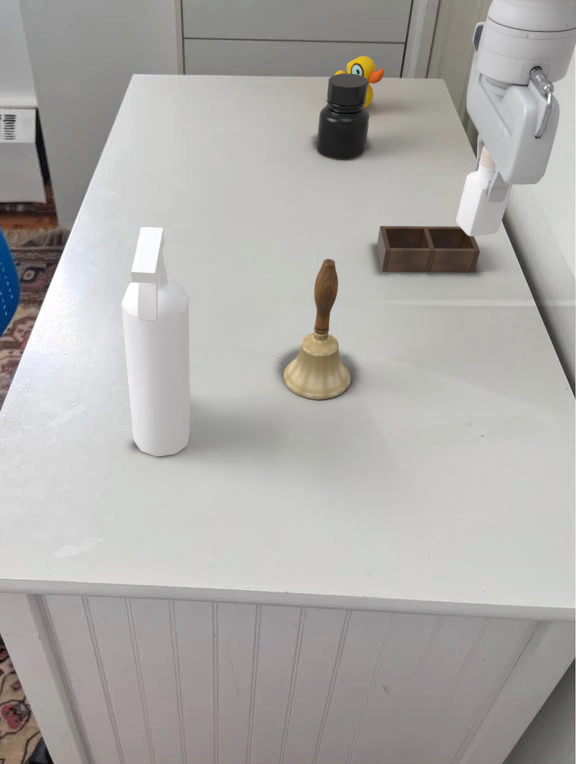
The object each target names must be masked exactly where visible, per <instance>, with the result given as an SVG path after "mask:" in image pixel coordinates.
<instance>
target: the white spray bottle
mask: <svg viewBox="0 0 576 764" xmlns="http://www.w3.org/2000/svg"><path fill="white" fill-rule="evenodd" d="M164 236H165V235H164V227H149V226H140V228H139V233H138V238H137V243H136V248H135V253H134V257H133V262H132V267H131V271H130V274H131V275H130V276H131V282H130V283H129V284H128V286H127V288H126V291H125V294H124V297H123V298H122V301H121V315H122V328H123V336H124V337H123V338H124V348H125V349H124V350H125V359H126V360H125V361H126V371H127V382H128V393H129V405H130V415H131V427H132V437H133V441H134V444H135V445H136V446H137V447H138V449H139V450H140V451H141V452H142V453H146V454H147V455H151V456H153V457H165V456H173V455H176V454H178V453H179V452H181V451H182V450H183V449H185V448H186V447H188V446H189V440H190V437H191V390H190V388H191V385H190V384H191V383H190V382H191V381H190V380H191V379H190V314H189V313H190V309H189V307H190V306H189V304H190V303H189V302H190V301H189V296H188V294H187V293H186V291H185V289H184V287H183V286H182V285H181V284H180V283H179V282H178V281H177V280H176V279H175V278H171V277H168V275H167V270H166V265H165V260H164V256H163V251H164V246H165V237H164Z"/></svg>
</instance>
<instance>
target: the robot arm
mask: <svg viewBox="0 0 576 764" xmlns="http://www.w3.org/2000/svg"><path fill="white" fill-rule="evenodd" d="M471 43H472V46H473V47H474V53H473V56H472V61H471V67H470V73H469V78H468V84H467V91H466V112H467V113H468V116H469V117H470V119H471V121H472V123H473V125H474V127H475V129H476V131H477V133H478V135H477V140H476V141H477V144H476V147H477V148H476V160H475V165H474V168H473V169H474V171H477V170H478V168H479V161H480V158H481V154H482V149H483V146H484V145H485V146H486V148H487V149H488V151H489V153H490V155H491V157H492V159H493V161H494V163H495V175H494V177H493V179H492V181H489V182H488V186H487V190H486V196H487V198H488V200H489V201H490V202H502V201H503V200H504V199H505V196H506V193H507V190H508V187H509V186H510V185H511V184H512V185H518V186H519V185H520V186H521V185H536V184H538V183H539V182H540V181H541V180H542V179H543V177H544V176H545V173H546V171H547V168H548V166H549V161H550V157H551V154H552V150H553V146H554V143H555V138H556V134H557V131H558V126H559V122H560V121H559V120H560V113H561V112H560V111H561V110H560V109H561V108H560V103H559V101H558V99H557V98H556V97H555V95H554V94H553V93H554V91H555V86H554V83H558V82H559V81H562V80H563V79H564V78H565V77H566V76H567V73H568V70H569V67H570V63H571V60H572V58H573V54H574V51H575V48H576V0H492V1H491V3H490V5H489V8H488V11H487V14H486V18H485V21H479V22H477V23H476V24H475V28H474V31H473V35H472V41H471ZM474 171H473V172H474Z"/></svg>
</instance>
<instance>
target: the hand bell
mask: <svg viewBox="0 0 576 764" xmlns="http://www.w3.org/2000/svg"><path fill="white" fill-rule="evenodd" d="M338 292H339V278H338V273H337V269H336V262H335V260H334V259H332V258H326V259H323V261H322V264H321V266H320V268H319V271H318V273H317V275H316V277H315V281H314V289H313V295H314V302H315V303H314V304H315V308H316V315H315V323H314V326H313V327H314V329H313V330H314V331H313V332H312V333H309V334H307V335H306V336H304V338H303V339H302V340H301V343H300V348H299V351H298V354H297V356H296V358H295V359H293V360H292V361H291V362H289V363H288V364H287V366H286V367H285V369H284V370H283V375H282V378H283V382H284V385H285V386H286V387H287V388H288V389H289V390H290V391H291V392H293V394H295V395H298V396H300V397H302V398H306V399H310V400H327V399H332V398H335V397H337V396H340V395H342V394H343V393H344V392H346V391H347V389H348V388H349V387H350V384H351V372H350V371H349V369H348V367H347V366H346V365H345V364H344V363H343V362H341V358H340V345H339V344H340V343H339V341H338V339H337V338H336V337H335V336H333V335H332V334H330V333H329V331H330V317H331V312H332V309H333V306H334V304H335V302H336V300H337V296H338Z"/></svg>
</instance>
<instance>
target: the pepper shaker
mask: <svg viewBox="0 0 576 764" xmlns="http://www.w3.org/2000/svg"><path fill="white" fill-rule="evenodd" d="M494 175H495V163H494V161H493V159H492V157H491V155H490V153H489V151H488V149H487V148H486V146H485V145H484V146H483V149H482V154H481V158H480V161H479V168H478V170H477V171H472V172H470V173H468V174H467V175H466V178H465V183H464V186H463V190H462V195H461V198H460V202H459V206H458V211H457V213H456V214H457V215H456V219H455V220H456V224H457V225H458V227H461V228H462V230H463V231H464V232H465V233H466V234H467V235H469V236H474V237H480V236H486V235H494V234H495V235H496V233H497V234H498V232H499V231H500V228H501V225H502V222H503V218H504V215H505V212H506V209H507V204H508V201H509V199H510V195H511V191H512V189H513V184H511V185H510V186H509V187H508V190H507V193H506V196H505V199H504V200H503V201H502V202H490V201H489V200H488V198H487V196H486V190H487V186H488V182H489V181H492V179H493V177H494Z"/></svg>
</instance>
